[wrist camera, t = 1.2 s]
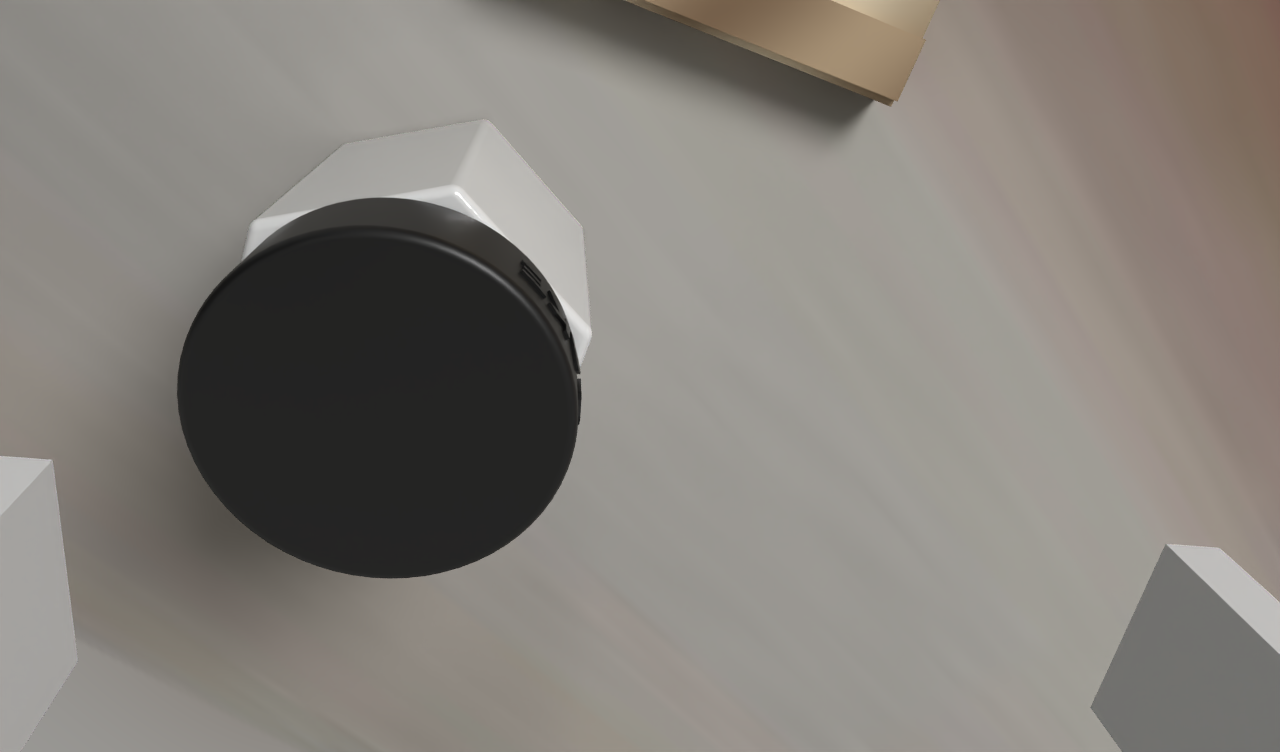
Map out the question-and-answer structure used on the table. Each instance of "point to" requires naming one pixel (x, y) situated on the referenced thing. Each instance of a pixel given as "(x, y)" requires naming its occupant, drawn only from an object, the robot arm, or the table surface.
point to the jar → (395, 357)
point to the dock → (819, 36)
